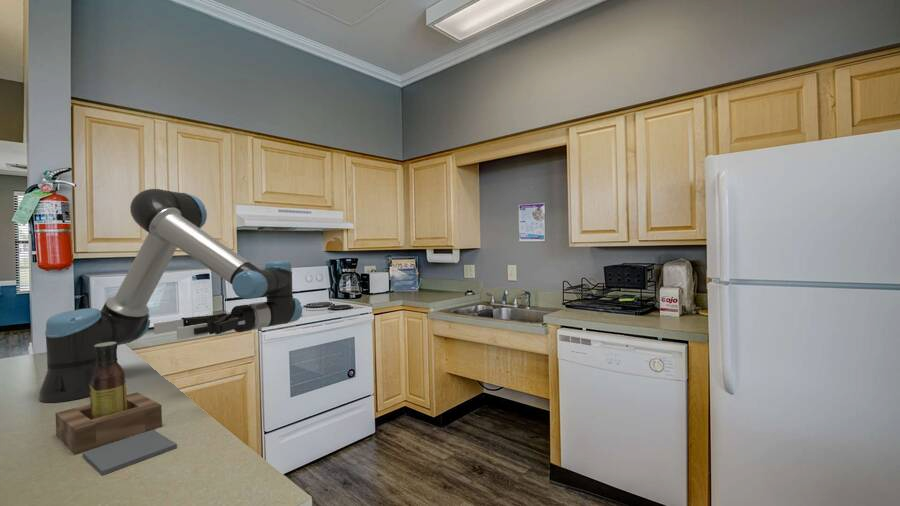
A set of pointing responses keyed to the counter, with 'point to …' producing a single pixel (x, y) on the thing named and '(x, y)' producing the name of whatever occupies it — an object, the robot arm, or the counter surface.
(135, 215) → the robot arm
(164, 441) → the mat
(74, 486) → the counter surface
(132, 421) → the rectangular frame
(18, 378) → the counter surface
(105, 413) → the sauce bottle
